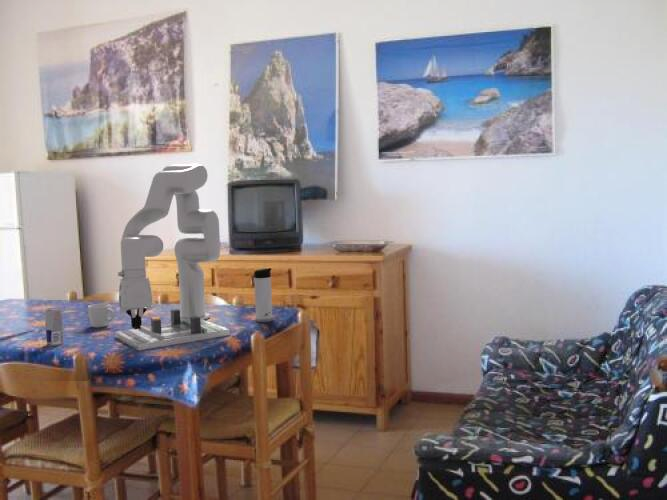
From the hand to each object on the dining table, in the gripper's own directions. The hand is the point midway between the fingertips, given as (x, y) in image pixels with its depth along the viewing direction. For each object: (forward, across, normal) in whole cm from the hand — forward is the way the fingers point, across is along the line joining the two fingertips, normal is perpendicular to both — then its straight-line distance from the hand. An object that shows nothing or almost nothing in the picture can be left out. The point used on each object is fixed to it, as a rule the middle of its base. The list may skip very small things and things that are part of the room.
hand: (136, 328), depth 228 cm
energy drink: (+5, -23, +16) cm, 28 cm away
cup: (+5, -2, +34) cm, 35 cm away
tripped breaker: (+2, +7, 0) cm, 7 cm away
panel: (+4, +12, 0) cm, 13 cm away
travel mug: (+4, +49, +1) cm, 50 cm away
